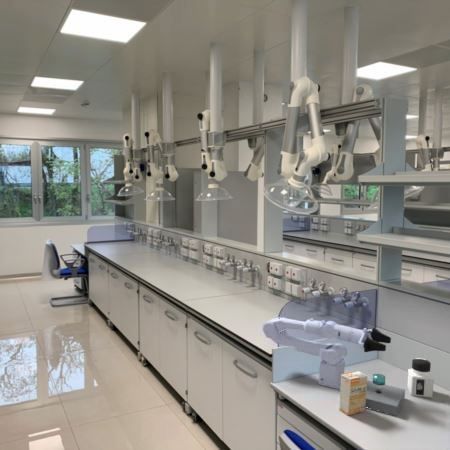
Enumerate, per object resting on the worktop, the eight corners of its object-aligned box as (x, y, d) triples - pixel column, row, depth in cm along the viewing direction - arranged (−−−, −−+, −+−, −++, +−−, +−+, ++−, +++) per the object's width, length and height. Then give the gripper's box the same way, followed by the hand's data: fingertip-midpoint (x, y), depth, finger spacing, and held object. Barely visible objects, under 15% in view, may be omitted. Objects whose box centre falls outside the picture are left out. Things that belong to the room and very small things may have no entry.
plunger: (370, 393, 163) (371, 376, 162) (373, 389, 166) (374, 372, 166) (383, 396, 160) (384, 379, 160) (385, 392, 164) (386, 375, 164)
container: (432, 398, 167) (434, 364, 166) (411, 395, 169) (413, 362, 168) (427, 389, 175) (429, 357, 174) (407, 387, 176) (408, 355, 176)
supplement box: (348, 416, 152) (350, 379, 151) (338, 410, 156) (340, 374, 155) (366, 411, 156) (368, 375, 155) (356, 405, 160) (358, 370, 159)
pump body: (350, 403, 161) (350, 394, 161) (361, 387, 175) (362, 379, 174) (396, 416, 153) (397, 406, 152) (404, 398, 166) (405, 389, 166)
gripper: (346, 332, 166) (384, 341, 158) (358, 319, 178) (393, 327, 170) (345, 349, 167) (382, 359, 160) (357, 335, 179) (392, 344, 172)
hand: (388, 344), depth 165 cm, fingers open, 7 cm apart
